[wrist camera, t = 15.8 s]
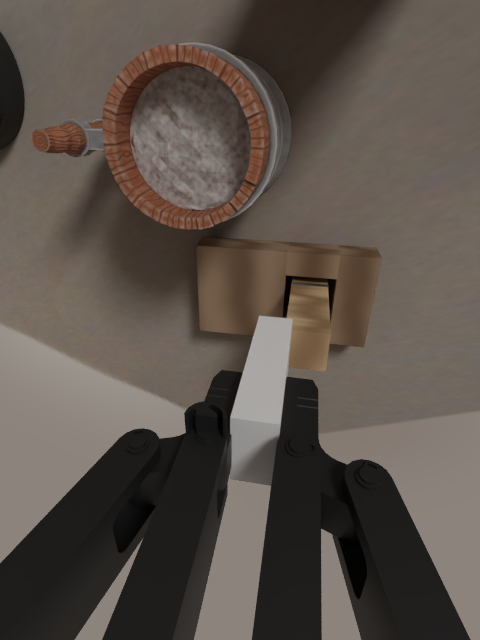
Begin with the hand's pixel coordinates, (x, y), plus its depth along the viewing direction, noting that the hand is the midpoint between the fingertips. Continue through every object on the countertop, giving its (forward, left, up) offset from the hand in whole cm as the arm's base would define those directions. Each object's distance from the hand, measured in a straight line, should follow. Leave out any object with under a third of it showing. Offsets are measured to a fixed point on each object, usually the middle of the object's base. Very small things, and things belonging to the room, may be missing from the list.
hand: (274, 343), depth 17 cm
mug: (-11, +7, -29) cm, 31 cm away
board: (-1, -10, -28) cm, 30 cm away
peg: (+2, -10, -28) cm, 30 cm away
